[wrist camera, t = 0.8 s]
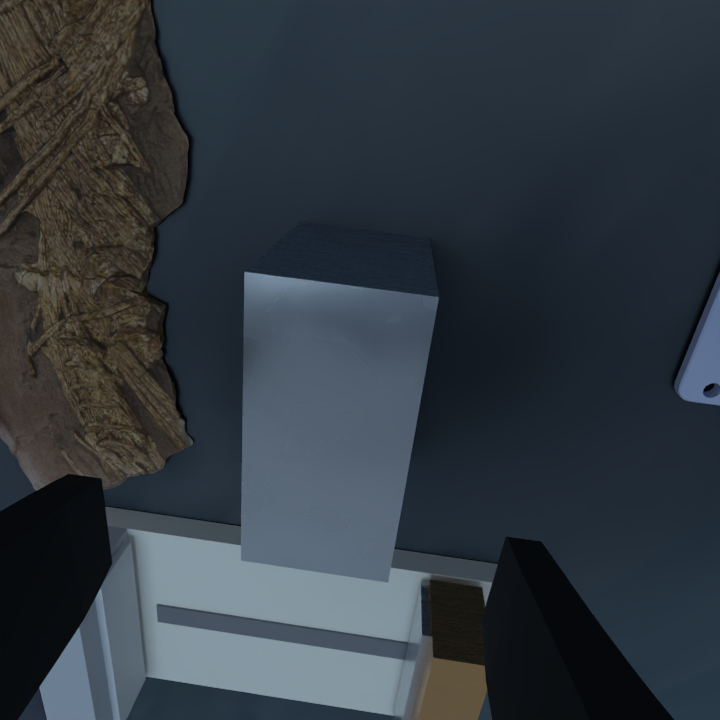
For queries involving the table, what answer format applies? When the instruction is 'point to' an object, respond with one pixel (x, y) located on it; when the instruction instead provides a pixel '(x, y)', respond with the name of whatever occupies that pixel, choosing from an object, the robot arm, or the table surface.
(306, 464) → the steel block
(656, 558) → the table surface
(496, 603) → the robot arm
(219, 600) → the vise base
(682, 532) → the table surface
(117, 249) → the wooden fragment
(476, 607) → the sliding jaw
